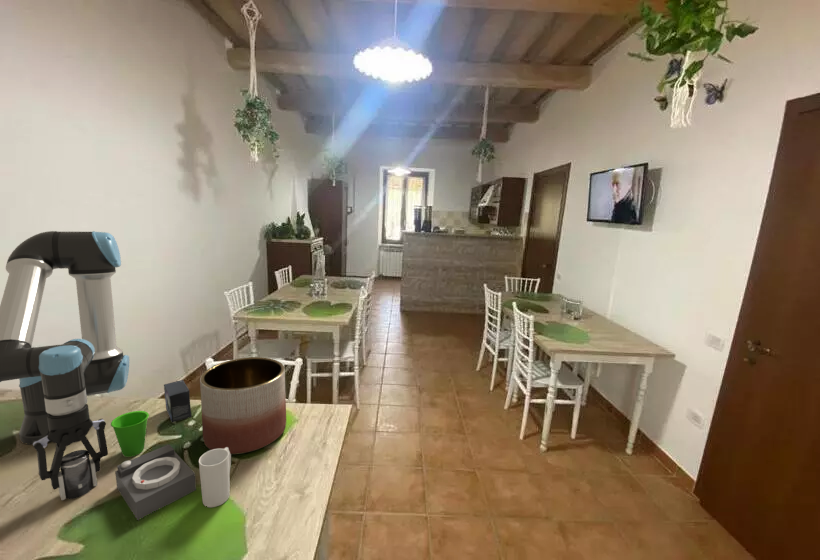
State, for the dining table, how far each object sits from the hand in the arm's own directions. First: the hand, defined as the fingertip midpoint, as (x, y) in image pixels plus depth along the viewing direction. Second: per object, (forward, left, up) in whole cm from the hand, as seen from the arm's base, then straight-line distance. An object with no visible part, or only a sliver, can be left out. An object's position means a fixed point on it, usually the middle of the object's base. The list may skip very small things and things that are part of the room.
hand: (78, 489), depth 94 cm
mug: (+28, +23, -1) cm, 36 cm away
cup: (-8, +14, -1) cm, 16 cm away
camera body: (+14, +13, 0) cm, 19 cm away
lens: (0, 0, 0) cm, 0 cm away
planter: (+8, +41, -1) cm, 42 cm away
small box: (-21, +31, -1) cm, 37 cm away
